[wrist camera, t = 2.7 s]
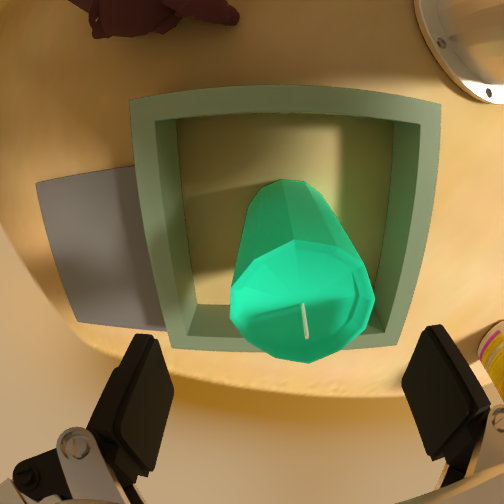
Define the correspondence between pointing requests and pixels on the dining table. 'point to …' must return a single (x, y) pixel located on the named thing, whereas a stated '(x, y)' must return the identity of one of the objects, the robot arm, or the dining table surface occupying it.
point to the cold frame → (282, 101)
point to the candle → (298, 276)
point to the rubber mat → (102, 248)
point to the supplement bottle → (494, 356)
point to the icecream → (151, 15)
